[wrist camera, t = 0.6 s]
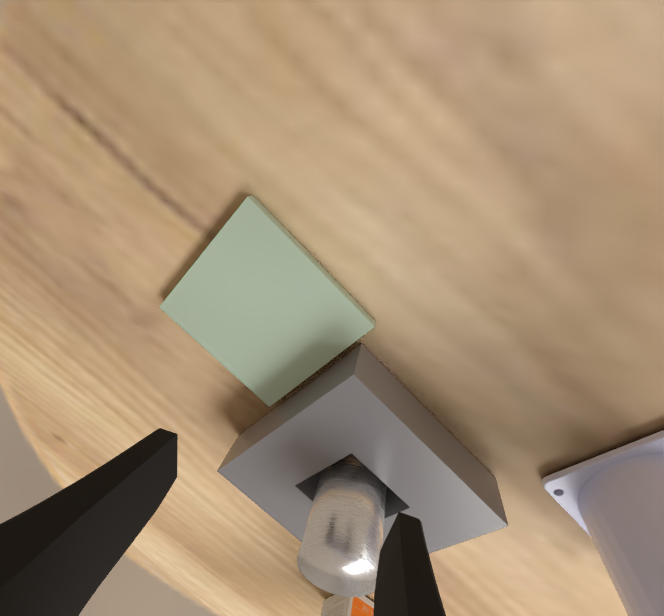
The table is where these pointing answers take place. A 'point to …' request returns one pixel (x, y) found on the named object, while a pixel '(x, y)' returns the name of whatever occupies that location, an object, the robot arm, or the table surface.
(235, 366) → the mat
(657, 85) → the table surface
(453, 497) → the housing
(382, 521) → the plug
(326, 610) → the skincare box
